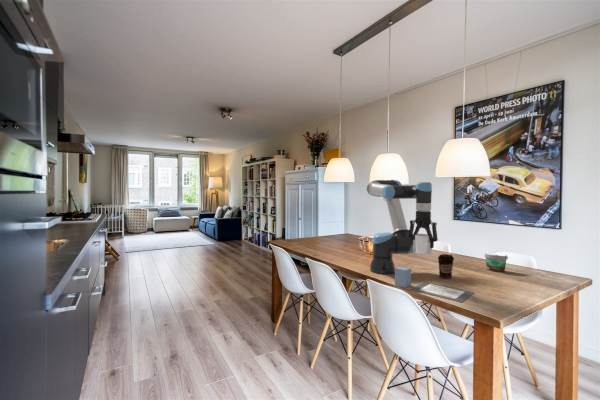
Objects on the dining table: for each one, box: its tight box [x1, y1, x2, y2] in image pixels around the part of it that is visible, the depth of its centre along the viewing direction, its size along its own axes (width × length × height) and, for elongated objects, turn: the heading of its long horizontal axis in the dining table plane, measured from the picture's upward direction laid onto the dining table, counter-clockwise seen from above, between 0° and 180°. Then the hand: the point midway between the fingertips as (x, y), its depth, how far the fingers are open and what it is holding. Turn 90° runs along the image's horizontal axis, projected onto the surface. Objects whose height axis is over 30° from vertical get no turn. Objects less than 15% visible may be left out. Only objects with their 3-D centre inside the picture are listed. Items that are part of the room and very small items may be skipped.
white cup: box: [415, 233, 430, 256], centre depth 158 cm, size 8×8×10 cm
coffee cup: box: [437, 253, 455, 280], centre depth 167 cm, size 9×8×13 cm
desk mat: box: [410, 281, 475, 304], centre depth 145 cm, size 24×18×1 cm
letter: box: [420, 284, 464, 299], centre depth 145 cm, size 17×13×1 cm
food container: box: [483, 253, 509, 273], centre depth 179 cm, size 12×6×10 cm, turn 68°
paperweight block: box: [394, 266, 412, 289], centre depth 154 cm, size 6×6×9 cm
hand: (422, 252), depth 158 cm, fingers closed on white cup, 7 cm apart
